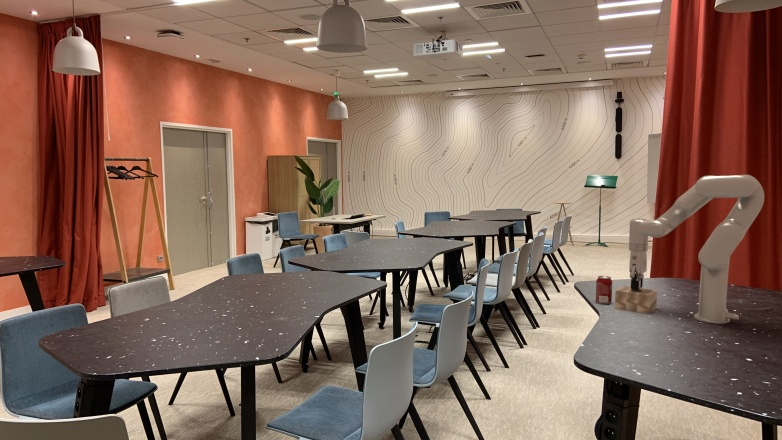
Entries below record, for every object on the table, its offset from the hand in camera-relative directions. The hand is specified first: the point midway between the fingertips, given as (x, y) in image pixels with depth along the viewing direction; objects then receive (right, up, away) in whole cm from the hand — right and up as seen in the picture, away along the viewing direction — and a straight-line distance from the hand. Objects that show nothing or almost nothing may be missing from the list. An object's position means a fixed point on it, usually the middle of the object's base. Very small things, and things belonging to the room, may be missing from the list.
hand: (636, 287), depth 237 cm
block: (0, -9, +1) cm, 9 cm away
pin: (0, -3, 0) cm, 3 cm away
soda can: (-10, -8, +11) cm, 17 cm away
